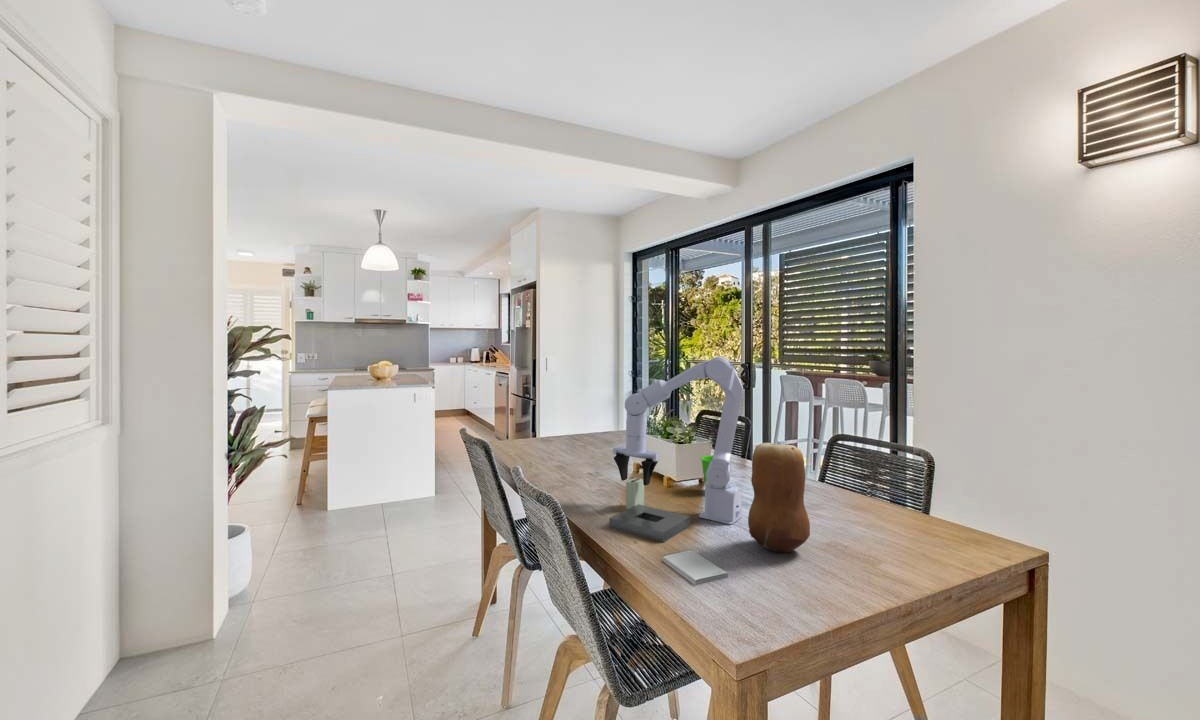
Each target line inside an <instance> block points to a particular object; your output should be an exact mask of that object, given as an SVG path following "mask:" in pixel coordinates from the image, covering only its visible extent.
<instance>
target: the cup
mask: <svg viewBox="0 0 1200 720" xmlns="http://www.w3.org/2000/svg"><path fill="white" fill-rule="evenodd" d="M712 459H713V455H703V456H701V457H700V460H701V466H702V472H703V481H704V483H705V482H706V481H707V479H706V471H707V469H708V466H709V463H710V461H711V460H712Z"/></svg>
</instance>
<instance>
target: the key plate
mask: <svg viewBox="0 0 1200 720" xmlns="http://www.w3.org/2000/svg"><path fill="white" fill-rule="evenodd" d="M608 521H609V522H608V523H609V524H608V525H609V526H608V527H609V528H610V529H614V530H617V531H620V532H624V533H629V534H631V535H635V536H638V537H642V538H646V539H649V540H653V541H657V542H658V543H662V544H663V543H665V542H667V541H669V540H670V539H671V538H673V537H675V536H676V535H678V534H680V533H681V532H682V531H684V530H686V529H687V528H689V527H690V526H691V516H689V515H686V514H682V513H677V512H673V511H669V510H664V509H660V508H655V507H651V506H648V505H645V504H644V505H640V504H638V505H636V506H633V507H631V508H629V509H625V510H623V511H620V512H619V513H617V514H615V515H613V516H610V517H609V519H608Z"/></svg>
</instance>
